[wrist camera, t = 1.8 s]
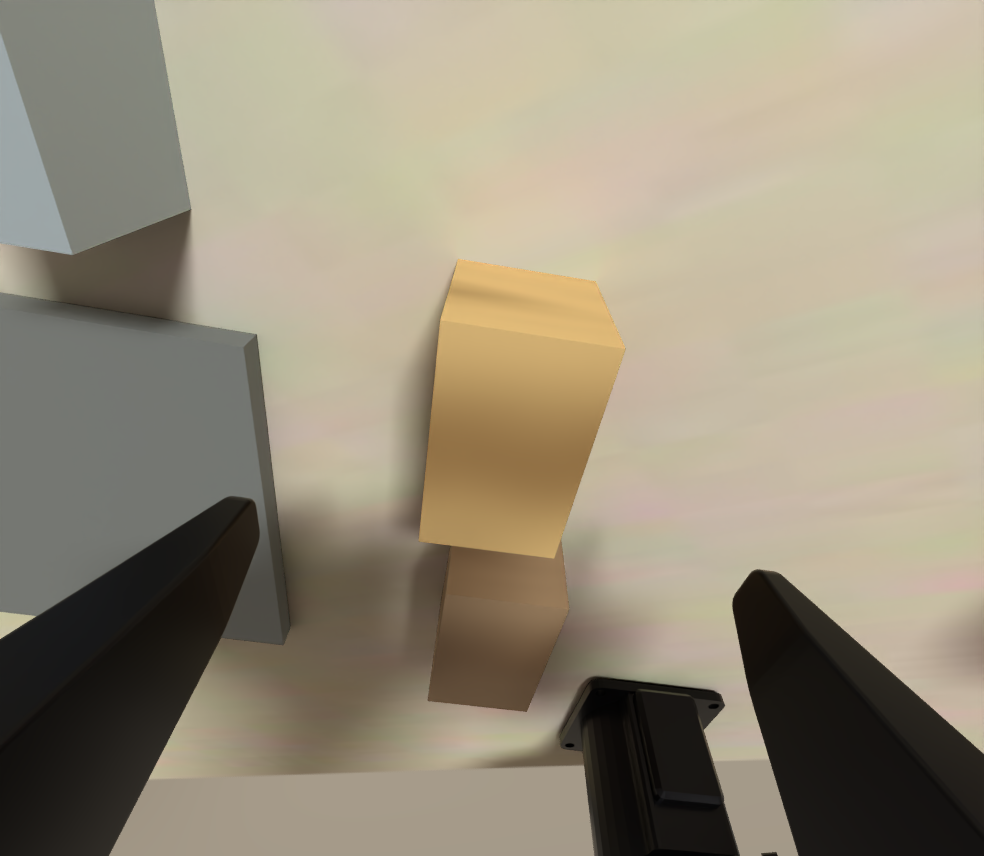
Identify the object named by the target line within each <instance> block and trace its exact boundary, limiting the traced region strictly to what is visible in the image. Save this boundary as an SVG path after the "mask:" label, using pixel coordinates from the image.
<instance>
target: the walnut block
mask: <svg viewBox="0 0 984 856" xmlns="http://www.w3.org/2000/svg"><path fill="white" fill-rule="evenodd" d="M568 611H569V602H568V594H567V585H566V577H565V568H564V560H563V551H562V542H561V540H560V543H559V546H558V549H557V552H556V555H555V557H554V559H553V558H545V557H538V556H530V555H522V554H514V553H506V552H498V551H490V550H482V549H474V548H466V547H458V546H450V550H449V556H448V562H447V568H446V574H445V580H444V586H443V592H442V598H441V604H440V612H439V619H438V627H437V634H436V642H435V650H434V657H433V665H432V672H431V680H430V687H429V695H428V701H434V702H443V703H452V704H461V705H470V706H479V707H488V708H497V709H507V710H516V711H525V712H527V710H528V708H529V705H530V703H531V700H532V698H533V696H534V693H535V691H536V688H537V686H538V684H539V681H540V679H541V676H542V674H543V672H544V669H545V667H546V664H547V662H548V659H549V657H550V655H551V652H552V650H553V647H554V645H555V643H556V640H557V638H558V635H559V633H560V631H561V628H562V626H563V623H564V621H565V619H566V616H567V614H568Z"/></svg>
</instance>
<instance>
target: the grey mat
mask: <svg viewBox="0 0 984 856" xmlns="http://www.w3.org/2000/svg"><path fill="white" fill-rule="evenodd" d="M228 496H237V497H245V498H251V499H253V500H254V501H255V503H256V507H257V514H258V521H259V528H260V538H259V543H258V546H257V549H256V551H255V554H254V556H253V559H252V562H251V564H250V567H249V570H248V572H247V575H246V577H245V580H244V583H243V585H242V588H241V590H240V593H239V596H238V598H237V601H236V604H235V606H234V609H233V611H232V614H231V616H230V619H229V621H228V624H227V626H226V628H225V630H224V633H223V635H222V637H221V638H227V639H236V640H244V641H253V642H261V643H270V644H278V645H284V642H285V640H286V638H287V635H288V633H289V630H290V621H289V612H288V603H287V595H286V586H285V577H284V569H283V560H282V552H281V543H280V534H279V526H278V517H277V508H276V500H275V491H274V482H273V474H272V465H271V457H270V448H269V439H268V431H267V422H266V413H265V405H264V396H263V387H262V379H261V370H260V362H259V353H258V344H257V336H256V334H250V333H244V332H238V331H232V330H226V329H220V328H214V327H208V326H201V325H195V324H189V323H183V322H177V321H171V320H165V319H159V318H153V317H146V316H140V315H134V314H128V313H122V312H116V311H110V310H104V309H97V308H91V307H85V306H79V305H73V304H67V303H61V302H55V301H49V300H42V299H36V298H30V297H24V296H18V295H12V294H6V293H0V612H8V613H16V614H25V615H33V616H38V615H39V614H41V613H43V612H44V611H46V610H47V609H49V608H51V607H52V606H54V605H55V604H57V603H59V602H60V601H62V600H63V599H65V598H66V597H68V596H70V595H71V594H73V593H74V592H76V591H78V590H79V589H81V588H82V587H84V586H86V585H87V584H89V583H90V582H92V581H93V580H95V579H97V578H98V577H100V576H101V575H103V574H105V573H106V572H108V571H109V570H111V569H113V568H114V567H116V566H117V565H119V564H120V563H122V562H124V561H125V560H127V559H128V558H130V557H132V556H133V555H135V554H136V553H138V552H139V551H141V550H143V549H144V548H146V547H147V546H149V545H151V544H152V543H154V542H155V541H157V540H159V539H160V538H162V537H163V536H165V535H166V534H168V533H170V532H171V531H173V530H174V529H176V528H178V527H179V526H181V525H182V524H184V523H186V522H187V521H189V520H190V519H192V518H193V517H195V516H197V515H198V514H200V513H201V512H203V511H205V510H206V509H208V508H209V507H211V506H213V505H214V504H216V503H217V502H219V501H220V500H222V499H224V498H226V497H228Z"/></svg>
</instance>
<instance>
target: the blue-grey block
mask: <svg viewBox="0 0 984 856" xmlns="http://www.w3.org/2000/svg"><path fill="white" fill-rule="evenodd" d="M188 210H191V205H190V200H189V194H188V188H187V183H186V177H185V171H184V166H183V160H182V155H181V149H180V143H179V138H178V132H177V126H176V121H175V115H174V110H173V104H172V98H171V93H170V87H169V82H168V76H167V70H166V65H165V59H164V53H163V48H162V42H161V37H160V31H159V25H158V20H157V14H156V9H155V3H154V0H0V243H2V244H8V245H14V246H20V247H26V248H33V249H39V250H45V251H51V252H57V253H63V254H69V255H74V254H77V253H79V252H82V251H85V250H87V249H90V248H92V247H95V246H97V245H100V244H103V243H105V242H108V241H110V240H113V239H116V238H118V237H121V236H123V235H126V234H129V233H131V232H134V231H136V230H139V229H141V228H144V227H147V226H149V225H152V224H154V223H157V222H160V221H162V220H165V219H167V218H170V217H173V216H175V215H178V214H180V213H183V212H185V211H188Z"/></svg>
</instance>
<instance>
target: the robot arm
mask: <svg viewBox="0 0 984 856" xmlns="http://www.w3.org/2000/svg"><path fill="white" fill-rule="evenodd" d="M259 538H260V528H259V521H258V514H257V507H256V503H255V501H254V500H253V499H251V498H245V497H237V496H228V497H226V498H224V499H222V500H220V501H219V502H217V503H216V504H214V505H213V506H211V507H209V508H208V509H206V510H205V511H203V512H201V513H200V514H198V515H197V516H195V517H193V518H192V519H190V520H189V521H187V522H186V523H184V524H182V525H181V526H179V527H178V528H176V529H174V530H173V531H171V532H170V533H168V534H166V535H165V536H163V537H162V538H160V539H159V540H157V541H155V542H154V543H152V544H151V545H149V546H147V547H146V548H144V549H143V550H141V551H139V552H138V553H136V554H135V555H133V556H132V557H130V558H128V559H127V560H125V561H124V562H122V563H120V564H119V565H117V566H116V567H114V568H113V569H111V570H109V571H108V572H106V573H105V574H103V575H101V576H100V577H98V578H97V579H95V580H93V581H92V582H90V583H89V584H87V585H86V586H84V587H82V588H81V589H79V590H78V591H76V592H74V593H73V594H71V595H70V596H68V597H66V598H65V599H63V600H62V601H60V602H59V603H57V604H55V605H54V606H52V607H51V608H49V609H47V610H46V611H44V612H43V613H41V614H39V615H38V616H36V617H35V618H33V619H32V620H30V621H28V622H27V623H25V624H24V625H22V626H20V627H19V628H17V629H16V630H14V631H12V632H11V633H9V634H8V635H6V636H5V637H3V638H1V639H0V856H109V854H110V853H111V851H112V849H113V847H114V845H115V843H116V841H117V839H118V837H119V835H120V833H121V831H122V829H123V827H124V825H125V823H126V821H127V819H128V818H129V816H130V814H131V812H132V810H133V808H134V806H135V804H136V802H137V800H138V798H139V796H140V794H141V792H142V790H143V788H144V786H145V785H146V783H147V781H148V779H149V777H150V775H151V773H152V771H153V769H154V767H155V765H156V763H157V761H158V759H159V757H160V755H161V754H162V752H163V750H164V748H165V746H166V744H167V742H168V740H169V738H170V736H171V734H172V732H173V730H174V728H175V726H176V724H177V722H178V721H179V719H180V717H181V715H182V713H183V711H184V709H185V707H186V705H187V703H188V701H189V699H190V697H191V695H192V693H193V691H194V689H195V688H196V686H197V684H198V682H199V680H200V678H201V676H202V674H203V672H204V670H205V668H206V666H207V664H208V662H209V660H210V658H211V656H212V654H213V653H214V651H215V649H216V647H217V645H218V643H219V641H220V639H221V637H222V635H223V633H224V630H225V628H226V626H227V624H228V621H229V619H230V616H231V614H232V611H233V609H234V606H235V604H236V601H237V598H238V596H239V593H240V590H241V588H242V585H243V583H244V580H245V577H246V575H247V572H248V570H249V567H250V564H251V562H252V559H253V556H254V554H255V551H256V549H257V546H258V543H259ZM732 607H733V614H734V619H735V624H736V629H737V634H738V639H739V644H740V649H741V654H742V659H743V664H744V669H745V675H746V679H747V684H748V688H749V692H750V696H751V699H752V703H753V706H754V710H755V713H756V716H757V720H758V723H759V726H760V729H761V733H762V736H763V739H764V743H765V746H766V749H767V753H768V756H769V759H770V763H771V766H772V769H773V772H774V776H775V779H776V782H777V786H778V789H779V792H780V796H781V799H782V802H783V806H784V809H785V812H786V816H787V819H788V822H789V826H790V829H791V832H792V835H793V839H794V842H795V845H796V849H797V852H798V855H799V856H984V754H983V753H982V752H981V751H980V750H979V749H978V748H976V747H975V746H974V745H973V744H972V743H971V742H970V741H969V740H967V739H966V738H965V737H964V736H963V735H962V734H961V733H959V732H958V731H957V730H956V729H955V728H954V727H953V726H952V725H950V724H949V723H948V722H947V721H946V720H945V719H944V718H943V717H941V716H940V715H939V714H938V713H937V712H936V711H935V710H934V709H932V708H931V707H930V706H929V705H928V704H927V703H926V702H924V701H923V700H922V699H921V698H920V697H919V696H918V695H917V694H915V693H914V692H913V691H912V690H911V689H910V688H909V687H908V686H906V685H905V684H904V683H903V682H902V681H901V680H900V679H898V678H897V677H896V676H895V675H894V674H893V673H892V672H891V671H889V670H888V669H887V668H886V667H885V666H884V665H883V664H882V663H880V662H879V661H878V660H877V659H876V658H875V657H874V656H873V655H871V654H870V653H869V652H868V651H867V650H866V649H865V648H863V647H862V646H861V645H860V644H859V643H858V642H857V641H856V640H854V639H853V638H852V637H851V636H850V635H849V634H848V633H847V632H845V631H844V630H843V629H842V628H841V627H840V626H839V625H838V624H836V623H835V622H834V621H833V620H832V619H831V618H830V617H828V616H827V615H826V614H825V613H824V612H823V611H822V610H821V609H819V608H818V607H817V606H816V605H815V604H814V603H813V602H812V601H810V600H809V599H808V598H807V597H806V596H805V595H804V594H803V593H801V592H800V591H799V590H798V589H797V588H796V587H795V586H793V585H792V584H791V583H790V582H789V581H788V580H787V579H786V578H784V577H783V576H782V575H781V574H779V573H777V572H774V571H767V570H760V569H757V570H754V571H752V572H751V573H750V574H749V576H748V577H747V578H746V580H745V581H744V582H743V584H742V585H741V587H740V588H739V589H738V591H737V592H736V593H735V595H734V598H733V603H732ZM724 706H725V704H724V702H723V699H722V696H721V694H719V693H715V692H707V691H699V690H690V689H682V688H674V687H665V686H657V685H648V684H640V683H632V682H623V681H615V680H606V679H595V680H592V681H591V682H590V683H589V684H588V686H587V688H586V689H585V691H584V693H583V695H582V697H581V698H580V700H579V702H578V704H577V706H576V708H575V709H574V711H573V713H572V715H571V717H570V719H569V720H568V722H567V724H566V726H565V728H564V730H563V731H562V733H561V735H560V746H561V747H562V748H563V749H567V750H577V751H583V759H584V767H585V777H586V786H587V795H588V803H589V812H590V821H591V830H592V838H593V848H594V856H740V854H739V851H738V847H737V844H736V841H735V837H734V834H733V831H732V827H731V824H730V821H729V817H728V814H727V811H726V807H725V804H724V796H723V793H722V789H721V786H720V783H719V779H718V776H717V773H716V769H715V766H714V763H713V759H712V756H711V753H710V750H709V746H708V743H707V740H706V736H705V733H704V729H705V728H706V727H707V726H708V725H709V723H710V722H711V721H712V720H713V719H714V718H715V717H716V716H717V715H718V714H719V712H720V711H721V710H722V709H723V708H724ZM761 855H762V856H778V855H777V853H776V852H772V853H761Z"/></svg>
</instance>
